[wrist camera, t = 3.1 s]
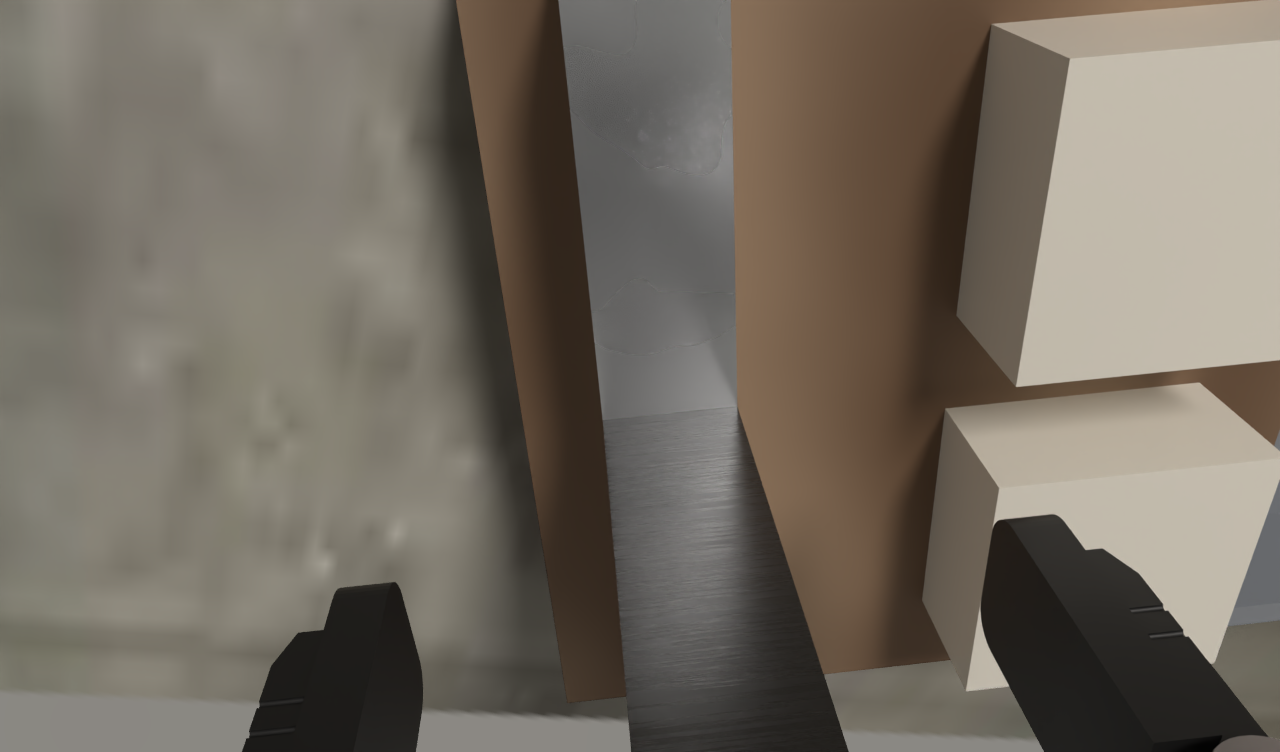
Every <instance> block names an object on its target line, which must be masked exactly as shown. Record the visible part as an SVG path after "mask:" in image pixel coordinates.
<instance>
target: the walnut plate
mask: <svg viewBox="0 0 1280 752" xmlns="http://www.w3.org/2000/svg"><path fill="white" fill-rule="evenodd" d="M1248 1H1260V0H731V49H732V111H733V173H734V234H735V296H736V358H737V407H738V410H739V413H740V416H741V419H742V422H743V426H744V429H745V432H746V435H747V438H748V441H749V444H750V447H751V450H752V453H753V457H754V460H755V463H756V466H757V469H758V472H759V475H760V478H761V481H762V485H763V488H764V491H765V494H766V497H767V500H768V503H769V506H770V509H771V512H772V516H773V519H774V522H775V525H776V528H777V531H778V534H779V537H780V540H781V544H782V547H783V550H784V553H785V556H786V559H787V562H788V565H789V568H790V571H791V575H792V578H793V581H794V584H795V587H796V590H797V593H798V596H799V599H800V603H801V606H802V609H803V612H804V615H805V618H806V621H807V624H808V627H809V630H810V634H811V637H812V640H813V643H814V646H815V649H816V652H817V655H818V658H819V662H820V665H821V668H822V671H823V674H830V673H839V672H848V671H857V670H865V669H874V668H883V667H892V666H901V665H910V664H919V663H928V662H936V661H945V660H951V659H950V657H949V655H948V653H947V651H946V649H945V647H944V645H943V643H942V641H941V639H940V636H939V634H938V632H937V630H936V628H935V626H934V624H933V622H932V620H931V618H930V616H929V614H928V612H927V609H926V607H925V605H924V603H923V601H922V597H923V588H924V580H925V572H926V563H927V555H928V547H929V538H930V530H931V522H932V513H933V505H934V497H935V489H936V480H937V472H938V464H939V455H940V447H941V439H942V430H943V422H944V414H945V409H946V408H956V407H965V406H975V405H985V404H995V403H1004V402H1014V401H1024V400H1034V399H1043V398H1053V397H1063V396H1072V395H1082V394H1092V393H1102V392H1111V391H1121V390H1131V389H1141V388H1150V387H1160V386H1170V385H1180V384H1189V383H1201V384H1202V385H1203V386H1204V387H1205V388H1206V389H1208V390H1209V391H1210V392H1211V393H1212V394H1213V395H1215V396H1216V397H1217V398H1218V399H1219V400H1220V401H1222V402H1223V403H1224V404H1225V405H1226V406H1228V407H1229V408H1230V409H1231V410H1232V411H1233V412H1235V413H1236V414H1237V415H1238V416H1239V417H1240V418H1242V419H1243V420H1244V421H1245V422H1246V423H1247V424H1249V425H1250V426H1251V427H1252V428H1253V429H1254V430H1256V431H1257V432H1258V433H1259V434H1260V435H1262V436H1263V437H1264V438H1265V439H1266V440H1267V441H1269V442H1270V443H1271V444H1272V445H1273V446H1274V445H1275V442H1276V439H1277V436H1278V433H1279V430H1280V360H1276V361H1267V362H1257V363H1247V364H1237V365H1227V366H1218V367H1208V368H1198V369H1188V370H1178V371H1169V372H1159V373H1149V374H1139V375H1130V376H1120V377H1110V378H1100V379H1090V380H1081V381H1071V382H1061V383H1051V384H1041V385H1032V386H1022V387H1015V385H1014V384H1013V383H1012V382H1011V381H1010V379H1009V378H1008V377H1007V376H1006V375H1005V373H1004V372H1003V371H1002V370H1001V369H1000V367H999V366H998V365H997V364H996V363H995V361H994V360H993V359H992V358H991V357H990V355H989V354H988V353H987V352H986V351H985V349H984V348H983V347H982V346H981V345H980V343H979V342H978V341H977V340H976V339H975V337H974V336H973V335H972V334H971V333H970V331H969V330H968V329H967V328H966V327H965V325H964V324H963V323H962V322H961V321H960V319H959V318H958V317H957V316H956V314H957V306H958V298H959V289H960V281H961V273H962V264H963V256H964V248H965V239H966V231H967V223H968V215H969V206H970V198H971V190H972V181H973V173H974V165H975V156H976V148H977V140H978V131H979V123H980V115H981V107H982V98H983V90H984V82H985V73H986V65H987V57H988V48H989V40H990V32H991V24H997V23H1009V22H1020V21H1031V20H1043V19H1054V18H1066V17H1077V16H1088V15H1100V14H1111V13H1123V12H1134V11H1146V10H1157V9H1168V8H1180V7H1191V6H1203V5H1214V4H1225V3H1237V2H1248ZM456 4H457V11H458V17H459V23H460V30H461V36H462V42H463V48H464V55H465V61H466V67H467V74H468V80H469V86H470V93H471V99H472V105H473V112H474V118H475V124H476V130H477V137H478V143H479V149H480V156H481V162H482V168H483V175H484V181H485V187H486V193H487V200H488V206H489V212H490V219H491V225H492V231H493V238H494V244H495V250H496V256H497V263H498V269H499V275H500V282H501V288H502V294H503V301H504V307H505V313H506V319H507V326H508V332H509V338H510V345H511V351H512V357H513V364H514V370H515V376H516V382H517V389H518V395H519V401H520V408H521V414H522V420H523V427H524V433H525V439H526V445H527V452H528V458H529V464H530V471H531V477H532V483H533V490H534V496H535V502H536V508H537V515H538V521H539V527H540V534H541V540H542V546H543V553H544V559H545V565H546V571H547V578H548V584H549V590H550V597H551V603H552V609H553V616H554V622H555V628H556V635H557V641H558V647H559V653H560V660H561V666H562V672H563V679H564V685H565V691H566V698H567V703H572V702H581V701H590V700H599V699H608V698H617V697H626V684H625V672H624V661H623V649H622V638H621V626H620V614H619V603H618V591H617V580H616V568H615V557H614V545H613V533H612V522H611V510H610V499H609V487H608V476H607V464H606V452H605V441H604V429H603V418H602V409H601V399H600V390H599V380H598V371H597V361H596V352H595V342H594V333H593V323H592V314H591V304H590V295H589V286H588V276H587V267H586V257H585V248H584V238H583V229H582V219H581V210H580V200H579V191H578V181H577V172H576V162H575V153H574V143H573V134H572V124H571V115H570V105H569V96H568V87H567V77H566V68H565V58H564V49H563V39H562V30H561V20H560V11H559V1H558V0H456Z"/></svg>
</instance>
